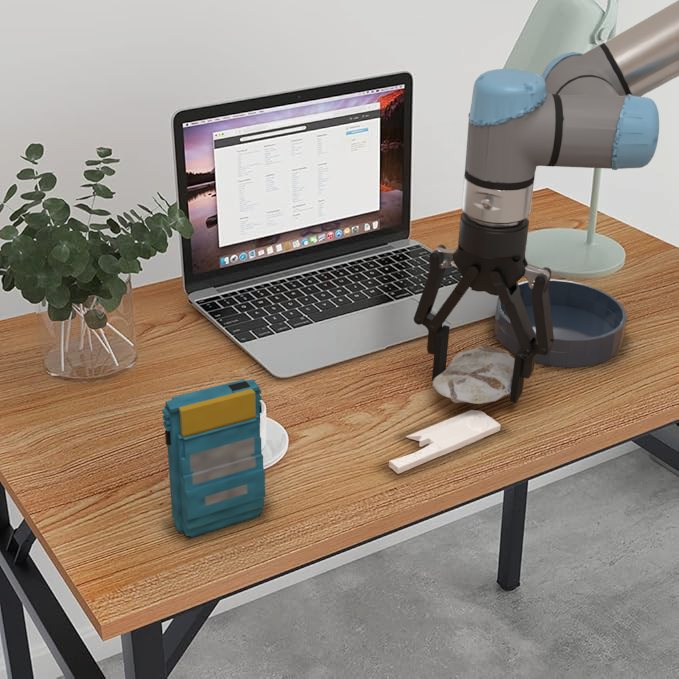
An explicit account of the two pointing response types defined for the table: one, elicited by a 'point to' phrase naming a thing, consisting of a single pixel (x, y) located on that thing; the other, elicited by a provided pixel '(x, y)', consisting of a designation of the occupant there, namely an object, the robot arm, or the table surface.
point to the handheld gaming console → (215, 457)
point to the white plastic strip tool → (446, 438)
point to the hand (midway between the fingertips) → (476, 386)
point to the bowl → (571, 324)
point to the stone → (477, 376)
